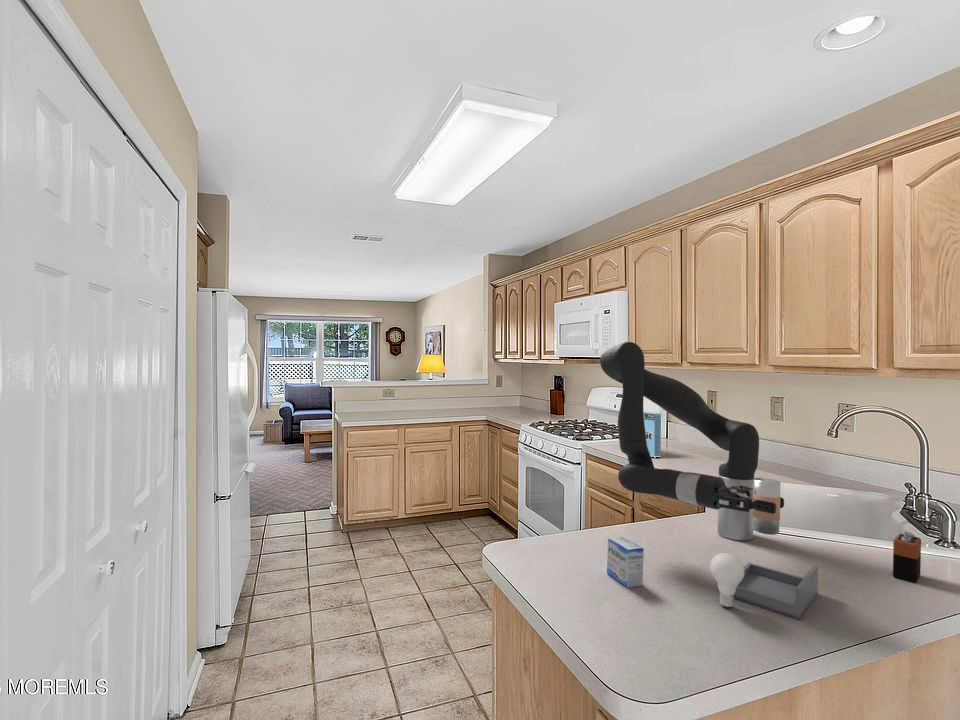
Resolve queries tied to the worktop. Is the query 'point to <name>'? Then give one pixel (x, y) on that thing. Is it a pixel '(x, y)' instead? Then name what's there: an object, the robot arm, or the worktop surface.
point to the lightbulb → (727, 576)
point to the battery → (907, 557)
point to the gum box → (653, 432)
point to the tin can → (770, 493)
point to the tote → (778, 590)
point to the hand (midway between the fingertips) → (779, 505)
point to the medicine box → (625, 561)
